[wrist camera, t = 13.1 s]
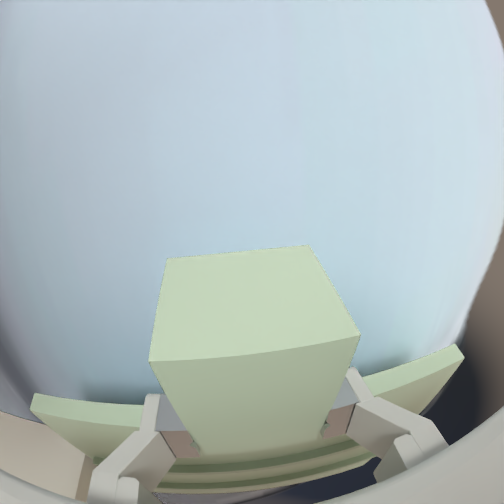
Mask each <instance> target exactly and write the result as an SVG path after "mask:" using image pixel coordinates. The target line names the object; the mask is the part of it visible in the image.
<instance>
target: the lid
mask: <svg viewBox="0 0 504 504" xmlns="http://www.w3.org/2000/svg"><path fill="white" fill-rule="evenodd" d="M360 336H361V334H360V332H359V330H358V328H357V327H356V325H355V323H354V321H353V319H352V318H351V316H350V314H349V312H348V310H347V309H346V307H345V305H344V303H343V302H342V300H341V298H340V296H339V295H338V293H337V291H336V289H335V288H334V286H333V284H332V282H331V281H330V279H329V277H328V276H327V274H326V272H325V271H324V269H323V267H322V266H321V264H320V262H319V261H318V259H317V257H316V256H315V254H314V252H313V251H312V249H311V247H310V246H309V245H301V246H291V247H280V248H270V249H259V250H249V251H239V252H228V253H218V254H208V255H198V256H187V257H177V258H167V261H166V265H165V270H164V275H163V280H162V284H161V289H160V294H159V300H158V305H157V310H156V316H155V322H154V327H153V333H152V340H151V346H150V353H149V360H148V362H149V364H150V366H151V368H152V370H153V372H154V374H155V376H156V378H157V379H158V381H159V383H160V385H161V387H162V389H163V391H164V392H165V394H166V396H167V398H168V399H169V401H170V403H171V405H172V406H173V408H174V410H175V412H176V413H177V415H178V417H179V418H180V420H181V421H182V423H183V425H184V426H185V428H186V429H187V431H188V432H189V433H190V435H191V436H192V438H193V440H194V442H195V443H197V445H198V446H199V448H200V457H195V458H176V461H175V462H174V464H173V465H172V466H171V468H170V469H169V471H168V472H167V473H166V475H165V476H164V478H163V479H162V480H161V482H160V483H159V484H158V486H157V487H156V489H155V490H154V491H153V492H159V493H176V494H216V493H233V492H245V491H254V490H262V489H269V488H275V487H281V486H287V485H292V484H297V483H302V482H306V481H311V480H314V479H319V478H323V477H326V476H330V475H333V474H337V473H340V472H344V471H347V470H350V469H353V468H356V467H359V466H362V465H364V464H365V463H366V462H367V461H369V460H370V459H371V458H373V457H376V455H375V454H373V453H372V452H370V451H369V450H367V449H366V448H364V447H363V446H361V445H360V444H358V443H357V442H356V441H354V440H353V439H351V438H350V437H348V436H347V435H346V434H342V435H339V436H335V437H331V438H327V439H322V436H321V434H320V430H321V428H322V426H323V425H324V423H325V421H326V420H325V419H326V417H327V415H328V413H329V411H330V410H331V408H332V406H333V404H334V402H335V399H336V397H337V395H338V392H339V390H340V388H341V385H342V383H343V381H344V378H345V376H346V373H347V371H348V368H349V366H350V363H351V361H352V358H353V355H354V353H355V350H356V347H357V345H358V342H359V339H360ZM463 359H464V356H463V355H462V353H461V352H460V350H459V349H458V348H457V346H456V345H455V344H453V345H451V346H448V347H446V348H444V349H441V350H439V351H437V352H434V353H432V354H429V355H427V356H424V357H422V358H419V359H416V360H414V361H411V362H408V363H405V364H402V365H400V366H397V367H394V368H391V369H388V370H385V371H381V372H378V373H375V374H372V375H368V376H365V377H362V379H363V380H364V382H365V383H366V385H367V387H368V388H369V390H370V391H371V393H372V395H373V396H374V398H375V397H380V398H382V399H384V400H386V401H389V402H391V403H393V404H395V405H397V406H399V407H402V408H404V409H406V410H408V411H410V412H413V413H415V414H417V415H418V414H419V413H420V412H421V411H422V410H423V409H424V408H425V407H426V406H427V405H428V403H429V402H430V401H431V400H432V399H433V398H434V397H435V395H436V394H437V393H438V392H439V391H440V389H441V388H442V387H443V386H444V384H445V383H446V382H447V381H448V379H449V378H450V377H451V376H452V374H453V373H454V372H455V370H456V369H457V368H458V366H459V365H460V363H461V362H462V361H463ZM143 407H144V405H129V404H112V403H100V402H90V401H82V400H74V399H67V398H60V397H54V396H49V395H43V394H38V393H34V397H33V400H32V403H31V406H30V411H31V412H32V413H33V414H34V415H36V416H37V417H38V418H39V419H40V420H41V421H42V422H44V423H45V424H46V425H47V426H48V427H50V428H51V429H52V430H53V431H55V432H56V433H57V434H58V435H60V436H61V437H62V438H63V439H65V440H66V441H67V442H69V443H70V444H72V445H73V446H74V447H76V448H77V449H79V450H80V451H81V452H83V453H84V454H86V455H87V456H89V457H90V458H92V459H93V464H95V465H96V466H98V465H99V464H100V463H101V462H103V461H104V460H105V459H106V458H107V457H108V456H109V455H110V454H111V453H112V452H113V451H114V450H115V449H116V448H117V447H118V446H120V445H121V444H122V443H123V442H124V441H125V440H126V439H127V438H128V437H129V436H130V435H131V434H132V433H133V432H134V431H139V428H140V422H141V417H142V412H143Z"/></svg>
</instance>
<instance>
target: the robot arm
mask: <svg viewBox="0 0 504 504" xmlns="http://www.w3.org/2000/svg"><path fill="white" fill-rule="evenodd" d="M325 420H326V421H325V423H324V425H323V426H322V428H321V430H320V434H321V436H322V439H327V438H331V437H335V436H339V435H342V434H346V435H347V436H348V437H350V438H351V439H353V440H354V441H356V442H357V443H358V444H360V445H361V446H363V447H364V448H366V449H367V450H369V451H370V452H372V453H373V454H375V455H376V456H378V457H379V458H381V459H382V461H381V462H380V464H379V465H378V466H377V468H376V469H375V471H374V473H373V474H374V476H375V478H376V480H377V484H374V485H371V486H369V487H366V488H363V489H361V490H358V491H355V492H352V493H350V494H346V495H343V496H340V497H337V498H333V499H330V500H326V501H323V502H319V503H315V504H504V406H503V407H502V408H501V409H500V410H498V411H497V412H496V413H495V414H494V415H493V416H491V417H490V418H489V419H487V420H486V421H485V422H484V423H483V424H481V425H480V426H478V427H477V428H476V429H474V430H473V431H471V432H470V433H469V434H467V435H466V436H464V437H463V438H461V439H460V440H458V441H457V442H456V443H454V444H452V445H451V446H449V445H448V444H447V443H446V441H445V440H444V438H443V437H442V435H441V434H440V432H439V431H438V429H437V428H436V426H435V425H434V423H433V422H432V421H431V420H429V419H426V418H424V417H422V416H419V415H417V414H415V413H413V412H410V411H408V410H406V409H404V408H402V407H399V406H397V405H395V404H393V403H391V402H389V401H386V400H384V399H382V398H380V397H375V398H374V396H373V395H372V393H371V391H370V390H369V388H368V387H367V385H366V383H365V382H364V380H363V379H362V377H361V375H360V374H359V372H358V371H357V369H356V368H355V367H354V366H353V367H349V368H348V371H347V373H346V376H345V378H344V381H343V383H342V385H341V388H340V390H339V392H338V395H337V397H336V399H335V402H334V404H333V406H332V408H331V410H330V411H329V413H328V415H327V417H326V419H325ZM195 457H200V448H199V446H198V445H197V443H195V442H194V440H193V438H192V436H191V435H190V433H189V432H188V431H187V429H186V428H185V426H184V425H183V423H182V421H181V420H180V418H179V417H178V415H177V413H176V412H175V410H174V408H173V406H172V405H171V403H170V401H169V399H168V398H167V396H166V394H147V396H146V397H145V402H144V407H143V412H142V417H141V422H140V428H139V431H134V432H133V433H132V434H131V435H130V436H129V437H128V438H127V439H126V440H125V441H124V442H123V443H122V444H121V445H120V446H118V447H117V448H116V449H115V450H114V451H113V452H112V453H111V454H110V455H109V456H108V457H107V458H106V459H105V460H104V461H103V462H101V463H100V464H99V465H98V466H97V467H96V468H95V469H94V470H93V472H92V477H91V481H90V486H89V491H88V496H87V502H82V501H79V500H75V499H72V498H69V497H66V496H63V495H60V494H57V493H54V492H51V491H49V490H46V489H43V488H41V487H38V486H36V485H33V484H31V483H29V482H26V481H24V480H22V479H20V478H18V477H16V476H14V475H11V474H9V473H7V472H6V471H4V470H2V469H0V504H163V503H162V502H161V501H160V500H159V499H158V498H156V497H155V496H154V495H153V494H152V493H153V491H154V490H155V489H156V487H157V486H158V484H159V483H160V482H161V480H162V479H163V478H164V476H165V475H166V473H167V472H168V471H169V469H170V468H171V466H172V465H173V464H174V462H175V461H176V458H195Z"/></svg>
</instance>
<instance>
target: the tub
mask: <svg viewBox="0 0 504 504" xmlns="http://www.w3.org/2000/svg"><path fill="white" fill-rule="evenodd" d="M96 467H97V466H96V465H95V464H93V459H92V458H90V457H89V456H87V455H86V454H84V453H83V452H81V451H80V450H79V449H77V448H76V447H74V446H73V445H72V444H70V443H69V442H67V441H66V440H65V439H63V438H62V437H61V436H60V435H58V434H57V433H56V432H55V431H53V430H52V429H51V428H50V427H48V426H47V425H45V424H41V423H37V422H33V421H30V420H26V419H23V418H20V417H16V416H13V415H10V414H7V413H4V412H1V411H0V469H2V470H4V471H6V472H7V473H9V474H11V475H14V476H16V477H18V478H20V479H22V480H24V481H26V482H29V483H31V484H33V485H36V486H38V487H41V488H43V489H46V490H49V491H51V492H54V493H57V494H60V495H63V496H66V497H69V498H72V499H75V500H79V501H82V502H87V496H88V491H89V486H90V481H91V477H92V472H93V470H94V469H95V468H96Z"/></svg>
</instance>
